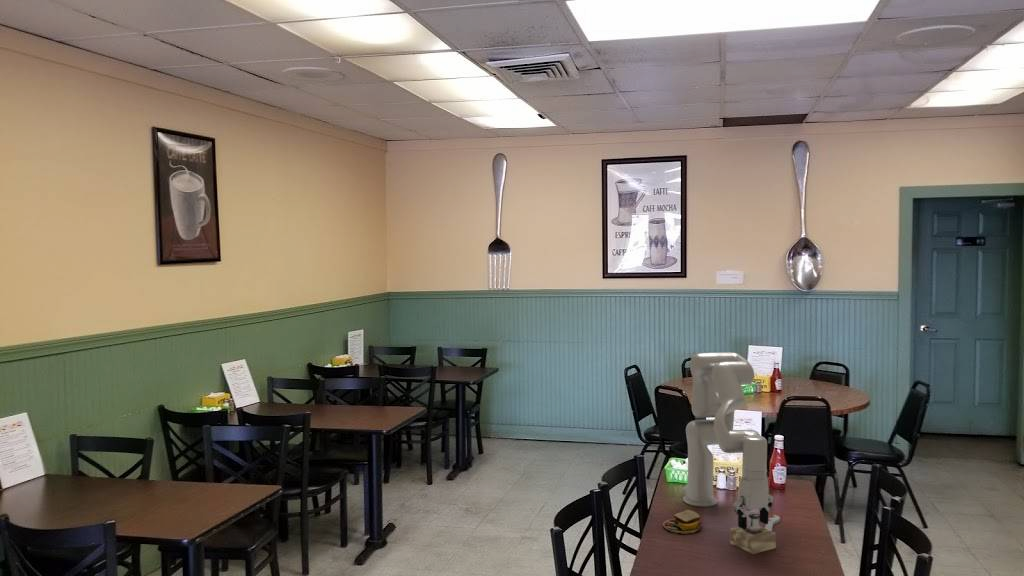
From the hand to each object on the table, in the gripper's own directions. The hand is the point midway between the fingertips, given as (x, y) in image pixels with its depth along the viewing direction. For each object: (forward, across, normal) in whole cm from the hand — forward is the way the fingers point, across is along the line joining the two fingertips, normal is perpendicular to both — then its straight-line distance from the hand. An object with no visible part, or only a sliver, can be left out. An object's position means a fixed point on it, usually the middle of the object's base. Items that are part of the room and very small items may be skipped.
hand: (753, 525), depth 248 cm
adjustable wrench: (+7, -16, -8) cm, 19 cm away
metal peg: (+6, 0, 0) cm, 6 cm away
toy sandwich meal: (+7, +9, -24) cm, 26 cm away
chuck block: (+7, 0, 0) cm, 7 cm away
